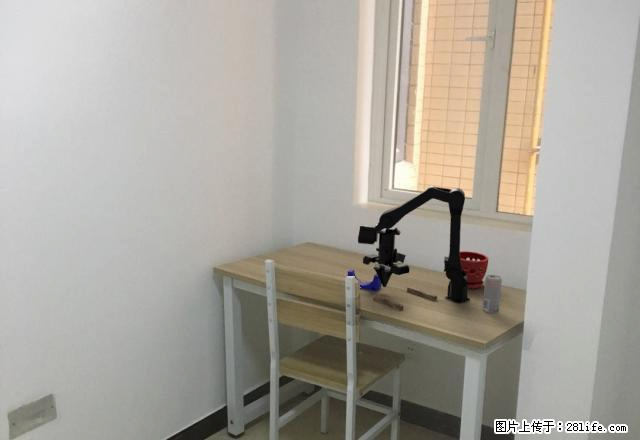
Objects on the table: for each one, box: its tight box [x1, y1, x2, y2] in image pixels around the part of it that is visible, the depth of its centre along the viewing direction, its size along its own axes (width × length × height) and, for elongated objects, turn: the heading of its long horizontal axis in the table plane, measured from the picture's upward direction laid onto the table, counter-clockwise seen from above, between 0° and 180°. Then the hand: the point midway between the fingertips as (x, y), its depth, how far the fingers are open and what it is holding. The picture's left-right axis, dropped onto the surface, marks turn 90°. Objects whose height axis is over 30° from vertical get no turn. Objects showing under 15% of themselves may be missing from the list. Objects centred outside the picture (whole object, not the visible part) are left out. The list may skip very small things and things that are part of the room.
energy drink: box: [482, 274, 503, 314], centre depth 201 cm, size 5×5×12 cm
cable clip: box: [347, 269, 382, 292], centre depth 224 cm, size 12×4×6 cm, turn 65°
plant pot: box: [460, 250, 489, 289], centre depth 229 cm, size 13×13×12 cm
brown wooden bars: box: [372, 286, 438, 311], centre depth 211 cm, size 13×19×2 cm
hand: (384, 286), depth 218 cm, fingers closed
